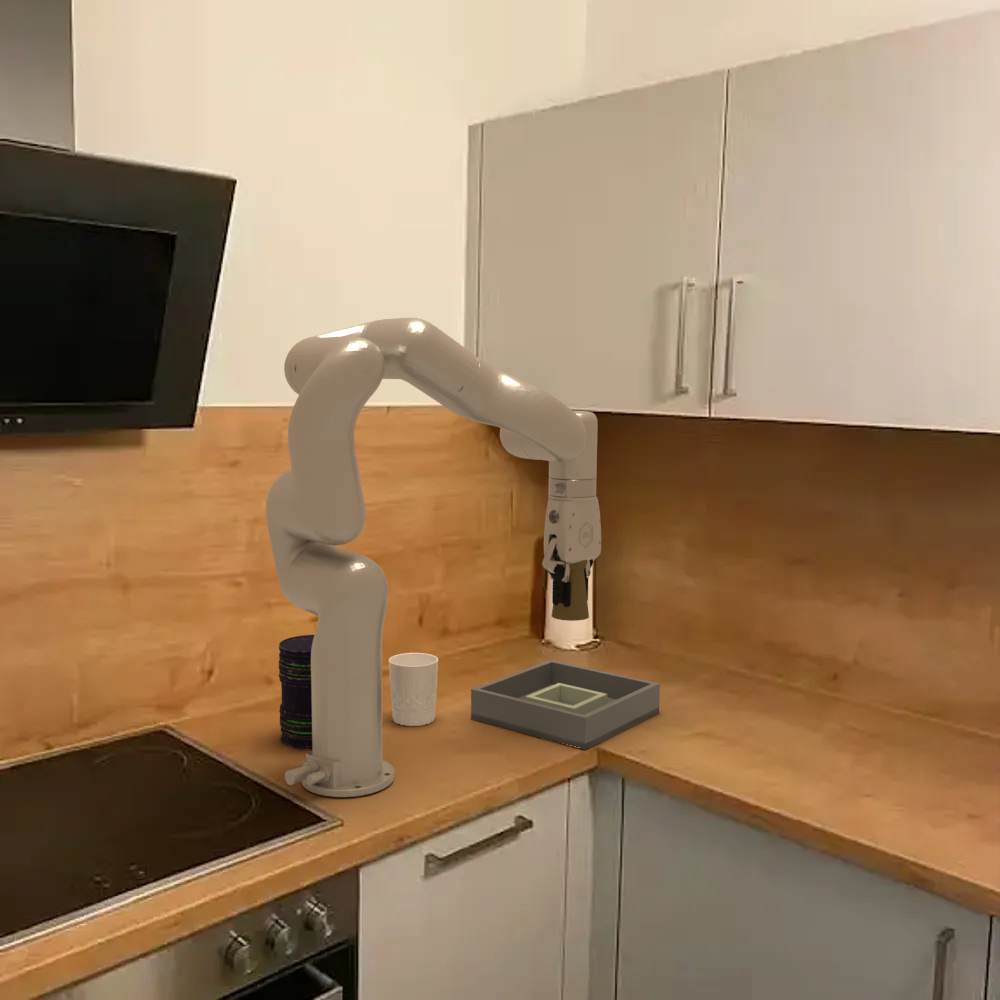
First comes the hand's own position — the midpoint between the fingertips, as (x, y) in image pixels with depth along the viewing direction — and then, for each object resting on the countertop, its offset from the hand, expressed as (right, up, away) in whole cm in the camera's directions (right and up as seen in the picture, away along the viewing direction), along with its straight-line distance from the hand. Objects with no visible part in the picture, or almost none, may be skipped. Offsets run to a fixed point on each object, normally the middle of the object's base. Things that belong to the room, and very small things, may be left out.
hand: (570, 601), depth 167 cm
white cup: (-25, -19, +1) cm, 32 cm away
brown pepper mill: (0, -3, 0) cm, 2 cm away
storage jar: (-40, -20, -8) cm, 45 cm away
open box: (0, -19, +3) cm, 19 cm away
